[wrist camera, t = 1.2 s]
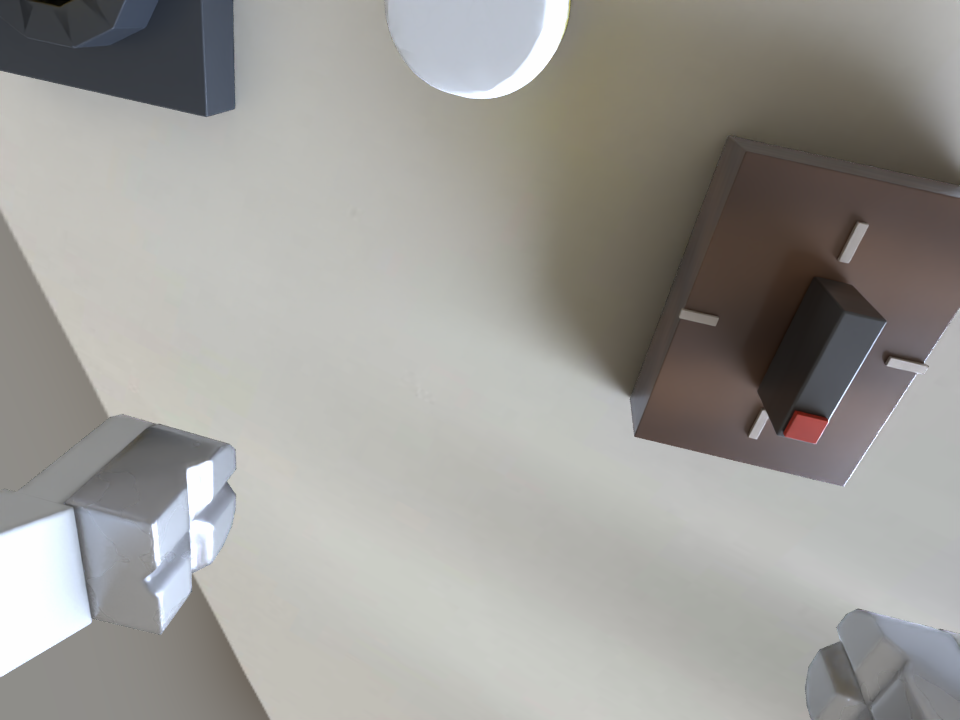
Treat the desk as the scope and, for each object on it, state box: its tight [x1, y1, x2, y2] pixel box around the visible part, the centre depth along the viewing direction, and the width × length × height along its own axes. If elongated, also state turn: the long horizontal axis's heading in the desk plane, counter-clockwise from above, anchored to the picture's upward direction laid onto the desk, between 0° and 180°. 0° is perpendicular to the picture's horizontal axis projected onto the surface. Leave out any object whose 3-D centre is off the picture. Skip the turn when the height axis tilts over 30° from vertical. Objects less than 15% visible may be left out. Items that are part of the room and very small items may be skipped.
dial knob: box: [757, 277, 887, 444], centre depth 22 cm, size 5×1×3 cm, turn 170°
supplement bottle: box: [385, 0, 571, 99], centre depth 18 cm, size 5×5×8 cm
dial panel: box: [630, 136, 960, 486], centre depth 24 cm, size 12×9×3 cm
